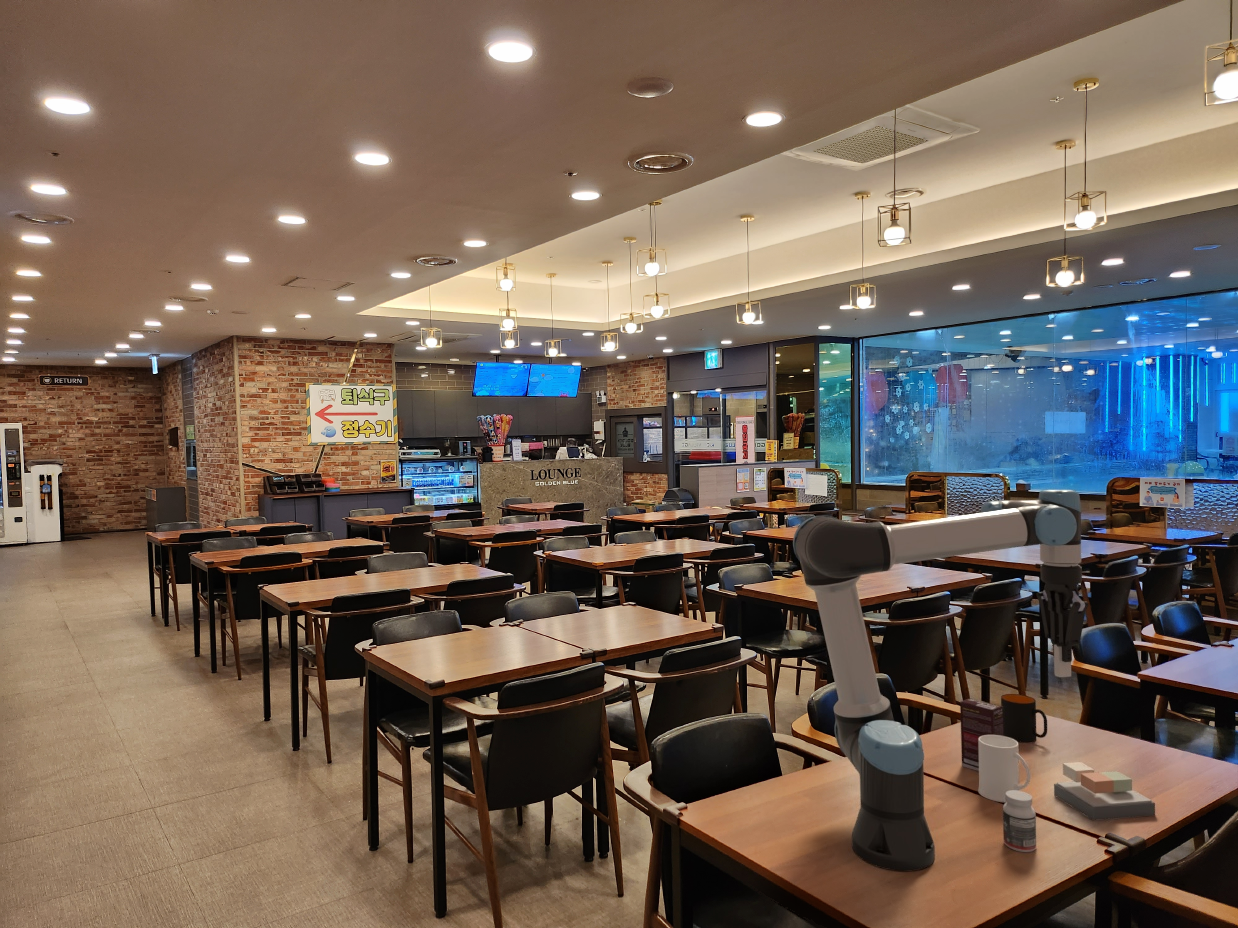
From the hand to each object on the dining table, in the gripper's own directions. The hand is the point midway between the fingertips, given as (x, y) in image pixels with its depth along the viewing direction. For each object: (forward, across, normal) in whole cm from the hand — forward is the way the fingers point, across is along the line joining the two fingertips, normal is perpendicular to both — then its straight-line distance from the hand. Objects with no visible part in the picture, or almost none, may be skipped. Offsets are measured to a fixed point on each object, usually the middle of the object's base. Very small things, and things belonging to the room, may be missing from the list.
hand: (1062, 675), depth 162 cm
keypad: (+29, +3, -11) cm, 32 cm away
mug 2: (+30, +10, +7) cm, 32 cm away
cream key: (+24, +6, -8) cm, 26 cm away
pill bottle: (+30, -10, +17) cm, 36 cm away
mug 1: (+30, +41, -19) cm, 54 cm away
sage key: (+26, +3, -14) cm, 30 cm away
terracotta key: (+24, 0, -8) cm, 26 cm away
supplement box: (+30, +25, +3) cm, 39 cm away
